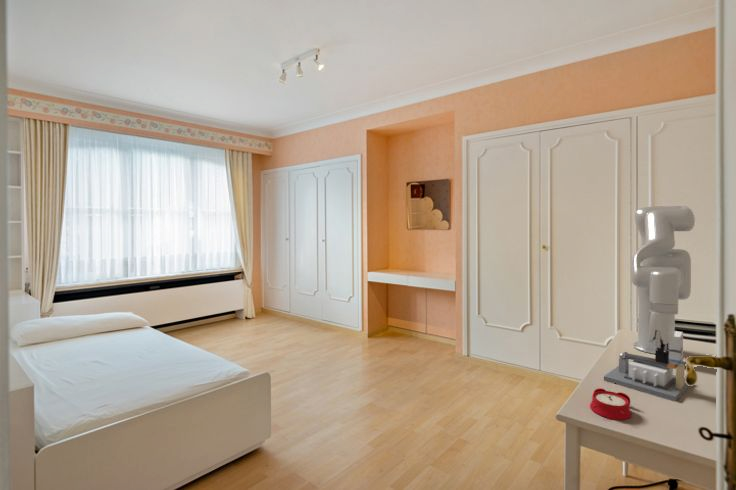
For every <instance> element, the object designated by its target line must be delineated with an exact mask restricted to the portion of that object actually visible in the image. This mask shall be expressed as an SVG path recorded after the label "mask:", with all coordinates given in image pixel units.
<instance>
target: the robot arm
mask: <svg viewBox="0 0 736 490" xmlns="http://www.w3.org/2000/svg"><path fill="white" fill-rule="evenodd" d="M634 220H635V225H636V227H637V231H638V232H639V234H640V238H641V246H640V247H639V248H638V249H637V250H635V251H636V252H634V254H633V256H632V259H631V263H630V265H631V267H630V268H631V269H630V270H631V271H630V273H631V276H630V277H631V281H632V284H633V285H634V286H635V287H636V289H637V296H638V298H637V300H638V317H637V318H638V320H637V321H638V324H637V326H638V327H637V330H638V331H637V341H635V342H634V343H633V348H635V349H636V350H637V351H641V352H644V353H647V354H654V355H655V358H654V359H655V361H656V362H660V363H665V364H667V363H668V362H669V351H668V350H669V342H670V341H672V340H673V339H674V334H675V331H676V329H675V328H676V321H675V319H676V317H675V315H678V314H679V301H680V300H682V301H683V300H687V299H689V297H690V295H691V291H692V290H691V289H692V258H691V254H690V253H689V252H688V250H685V249H682V248H681V249H680V248H674V247H675V245H676V241H675V232H689V231H692V230H693V229H694V227H695V221H696V217H695V214H694V212H693V211H692V209H691V208H690V207H688V206H686V205H672V206H671V205H669V206H668V205H667V206H665V205H664V206H646V207H640V208H638V209H637V210H635V213H634Z"/></svg>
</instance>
